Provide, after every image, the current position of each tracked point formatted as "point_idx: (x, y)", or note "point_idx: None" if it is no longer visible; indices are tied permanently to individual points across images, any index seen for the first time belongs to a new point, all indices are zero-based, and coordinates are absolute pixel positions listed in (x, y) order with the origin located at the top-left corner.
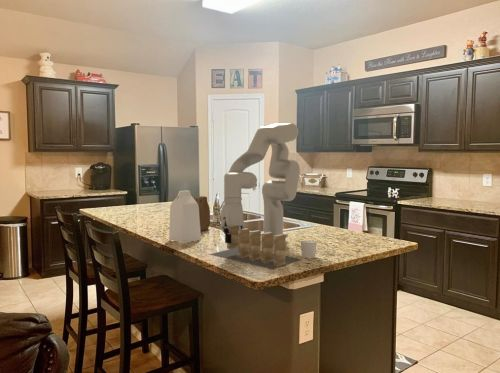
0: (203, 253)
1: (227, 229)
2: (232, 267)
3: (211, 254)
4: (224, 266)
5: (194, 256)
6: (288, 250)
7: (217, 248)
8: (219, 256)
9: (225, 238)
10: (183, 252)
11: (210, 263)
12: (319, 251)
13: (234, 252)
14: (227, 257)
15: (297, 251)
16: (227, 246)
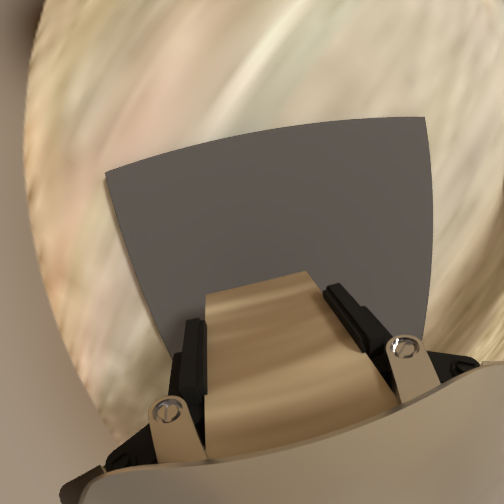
0: (110, 84)
1: (209, 453)
2: (139, 424)
3: (116, 186)
4: (112, 402)
5: (31, 141)
6: (488, 313)
7: (290, 11)
8: (141, 273)
9: (172, 371)
10: (41, 17)
11: (63, 336)
12: (497, 359)
13: (300, 231)
14: (177, 322)
15: (485, 338)
16: (206, 309)
